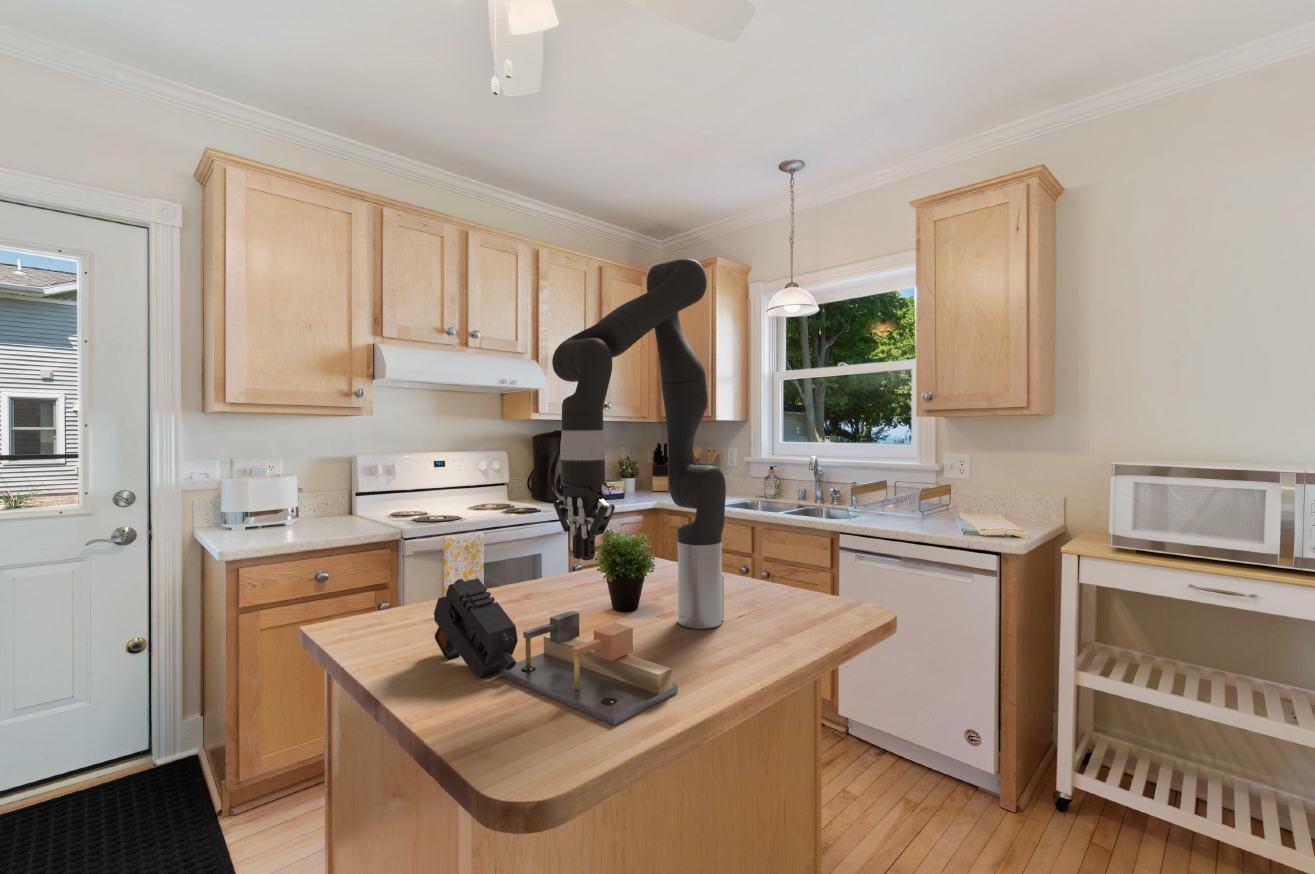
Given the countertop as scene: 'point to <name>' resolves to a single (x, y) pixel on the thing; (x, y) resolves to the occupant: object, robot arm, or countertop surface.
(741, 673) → the countertop surface
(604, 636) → the slider leg
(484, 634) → the tool
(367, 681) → the countertop surface
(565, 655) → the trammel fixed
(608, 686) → the hole plate
